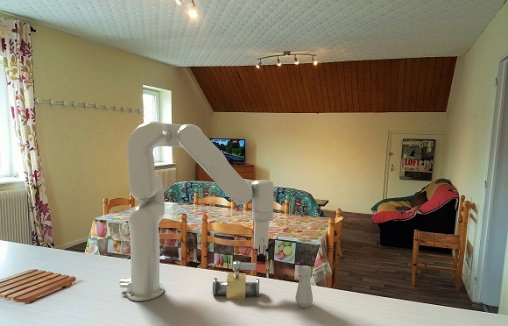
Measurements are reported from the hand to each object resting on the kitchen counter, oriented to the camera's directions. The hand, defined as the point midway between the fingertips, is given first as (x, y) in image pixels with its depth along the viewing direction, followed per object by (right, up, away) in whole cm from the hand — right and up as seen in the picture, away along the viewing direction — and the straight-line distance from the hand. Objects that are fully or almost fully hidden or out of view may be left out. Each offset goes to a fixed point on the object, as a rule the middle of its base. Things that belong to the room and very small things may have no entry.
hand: (261, 264), depth 114 cm
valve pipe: (-9, -10, -2) cm, 13 cm away
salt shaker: (+14, -11, -8) cm, 20 cm away
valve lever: (-4, -1, -3) cm, 5 cm away
